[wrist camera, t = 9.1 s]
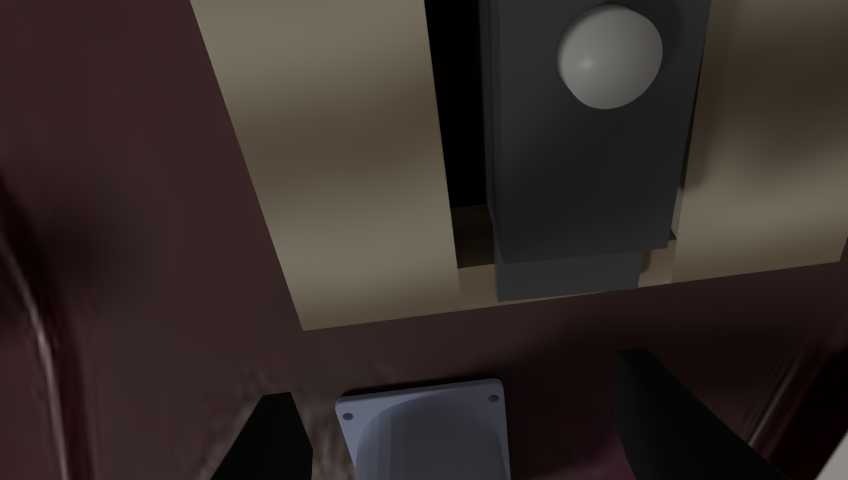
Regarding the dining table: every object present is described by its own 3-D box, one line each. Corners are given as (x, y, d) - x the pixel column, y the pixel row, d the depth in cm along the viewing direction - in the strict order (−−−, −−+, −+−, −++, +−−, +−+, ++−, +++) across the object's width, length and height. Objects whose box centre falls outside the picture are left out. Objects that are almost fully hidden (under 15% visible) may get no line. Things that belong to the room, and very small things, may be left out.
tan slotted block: (771, 203, 21) (838, 261, 18) (317, 264, 22) (303, 331, 19) (875, -228, 14) (1017, -261, 11) (203, -118, 15) (149, -119, 12)
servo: (594, 215, 21) (666, 335, 16) (480, 227, 22) (509, 350, 16) (628, -163, 15) (770, -193, 9) (463, -144, 15) (503, -162, 9)
